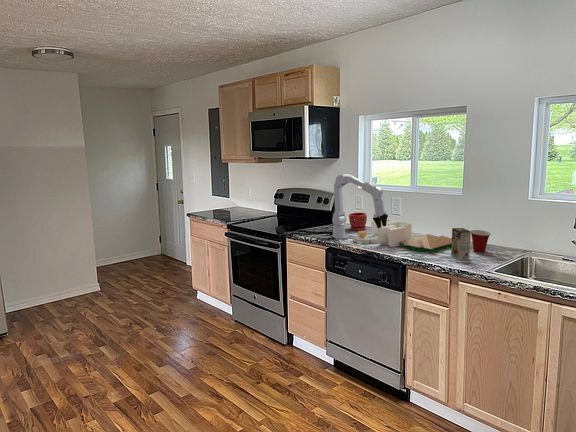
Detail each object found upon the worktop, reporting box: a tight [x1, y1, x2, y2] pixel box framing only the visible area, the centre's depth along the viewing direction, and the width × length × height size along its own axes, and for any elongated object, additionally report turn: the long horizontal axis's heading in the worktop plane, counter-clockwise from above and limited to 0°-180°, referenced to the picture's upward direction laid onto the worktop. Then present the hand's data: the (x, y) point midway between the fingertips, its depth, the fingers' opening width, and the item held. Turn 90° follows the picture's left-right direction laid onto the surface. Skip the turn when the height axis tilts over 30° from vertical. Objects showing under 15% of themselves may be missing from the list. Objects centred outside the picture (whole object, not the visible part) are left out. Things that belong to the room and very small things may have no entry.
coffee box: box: [450, 227, 472, 261], centre depth 231 cm, size 9×6×16 cm
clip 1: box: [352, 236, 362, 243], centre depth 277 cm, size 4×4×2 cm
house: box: [398, 233, 452, 254], centre depth 259 cm, size 23×33×8 cm
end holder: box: [364, 235, 378, 244], centre depth 276 cm, size 9×9×2 cm
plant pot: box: [348, 212, 368, 231], centre depth 315 cm, size 13×13×12 cm
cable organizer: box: [377, 225, 407, 248], centre depth 264 cm, size 15×11×12 cm
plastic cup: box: [470, 229, 491, 254], centre depth 242 cm, size 11×11×12 cm
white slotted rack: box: [370, 219, 413, 240], centre depth 286 cm, size 25×11×11 cm, turn 39°
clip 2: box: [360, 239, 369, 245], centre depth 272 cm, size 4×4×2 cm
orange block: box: [357, 230, 367, 239], centre depth 285 cm, size 6×4×5 cm, turn 12°
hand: (382, 227), depth 269 cm, fingers open, 7 cm apart
